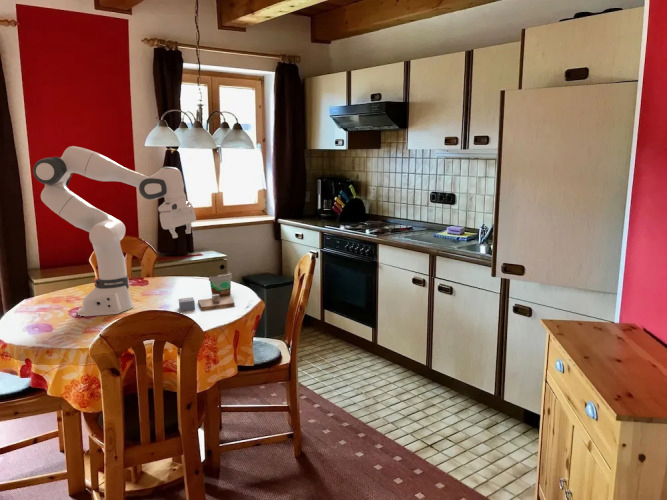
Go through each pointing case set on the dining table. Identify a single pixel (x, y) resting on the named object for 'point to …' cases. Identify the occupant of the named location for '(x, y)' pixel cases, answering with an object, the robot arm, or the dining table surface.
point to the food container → (221, 284)
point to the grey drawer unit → (186, 304)
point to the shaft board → (216, 302)
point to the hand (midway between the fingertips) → (182, 235)
